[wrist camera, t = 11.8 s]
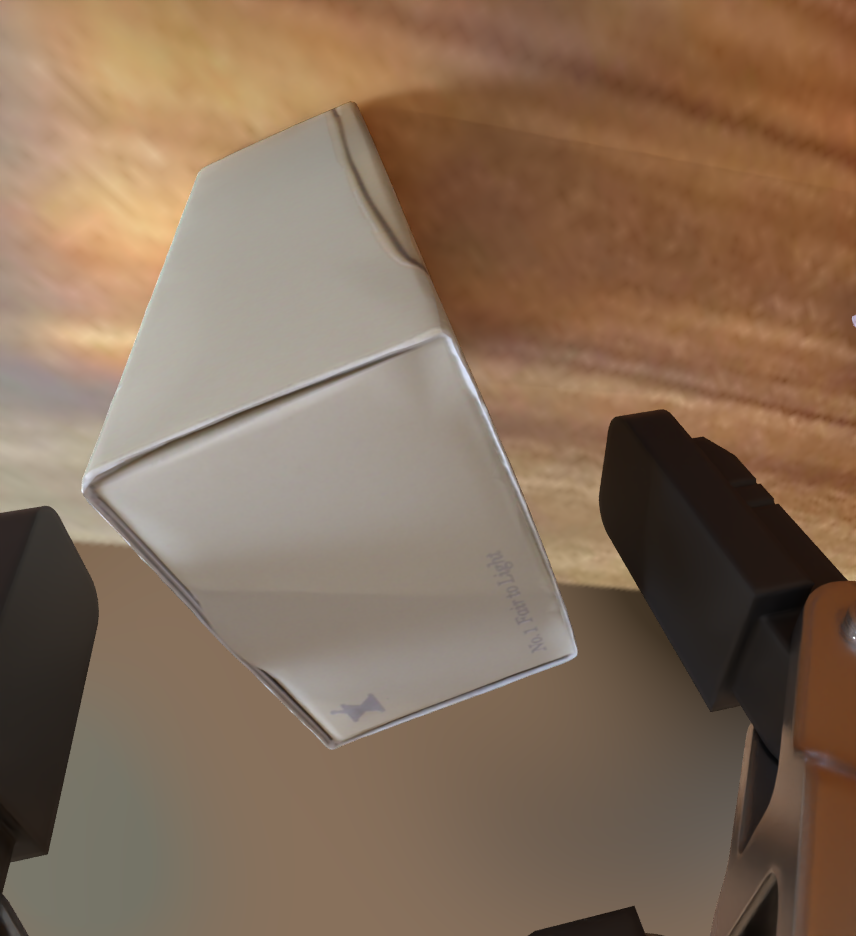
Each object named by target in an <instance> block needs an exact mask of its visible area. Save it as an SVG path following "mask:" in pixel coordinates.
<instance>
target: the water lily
mask: <svg viewBox="0 0 856 936" xmlns="http://www.w3.org/2000/svg"><path fill="white" fill-rule="evenodd" d="M852 321H853V324H854V326H855V327H856V315H854V316H853V317H852Z"/></svg>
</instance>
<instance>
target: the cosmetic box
mask: <svg viewBox="0 0 856 936" xmlns="http://www.w3.org/2000/svg"><path fill="white" fill-rule="evenodd" d="M81 492H82V494H83V496H84V497H85V498H86V500H87V501H88V503H89V504H90V505H91V506H92V507H93V508H94V509H95V510H96V511H97V512H98V513H99V514H100V515H101V516H102V517H103V518H104V519H105V520H106V521H107V522H108V523H109V524H110V525H111V526H112V527H113V528H114V529H115V530H116V531H117V532H118V533H119V534H120V536H121V537H122V538H123V539H124V540H125V541H126V542H127V543H128V545H129V546H130V547H131V548H132V549H133V550H134V551H135V552H136V553H137V554H138V555H139V556H140V558H141V559H142V560H143V561H144V562H145V563H146V564H147V565H148V566H150V567H151V568H152V569H153V570H154V571H155V572H156V574H157V575H158V576H159V577H160V579H161V580H162V581H163V582H164V583H165V584H166V585H167V586H168V587H169V588H170V589H171V590H172V591H173V592H174V593H175V594H176V595H177V596H178V598H179V599H180V600H182V601H183V602H184V603H185V605H186V606H187V607H188V608H189V609H190V610H191V611H192V612H193V613H194V614H195V615H196V617H197V618H198V619H199V620H200V621H201V622H202V623H203V624H204V625H205V627H206V628H207V629H209V631H210V632H211V633H212V634H213V635H214V636H215V637H216V638H217V639H218V640H219V641H220V642H221V643H222V644H223V645H224V646H225V647H226V648H227V649H228V650H229V651H230V652H231V653H232V654H233V655H234V656H235V657H236V658H237V659H238V660H239V661H240V662H241V663H242V664H243V665H245V666H246V667H247V668H248V669H249V670H250V671H251V672H252V673H253V674H254V675H255V676H256V677H257V678H258V679H259V680H260V681H261V682H262V683H263V684H264V685H265V686H266V687H267V688H268V689H269V690H270V691H271V692H272V693H273V694H274V695H275V696H276V697H277V698H278V699H279V700H280V701H281V702H282V703H283V704H284V705H285V706H286V707H287V708H288V709H289V710H290V711H291V712H292V713H293V714H294V715H295V716H297V718H298V719H299V720H300V721H301V722H302V723H303V724H304V725H305V726H306V727H308V728H309V729H310V730H311V731H312V732H313V733H314V734H315V736H316V737H317V738H318V739H319V740H320V741H321V742H322V743H323V744H324V745H325V746H326V747H327V748H329V749H336V748H338V747H340V746H342V745H345V744H348V743H350V742H353V741H355V740H357V739H359V738H362V737H365V736H369V735H372V734H374V733H377V732H380V731H382V730H385V729H388V728H391V727H393V726H396V725H398V724H401V723H404V722H408V721H410V720H412V719H414V718H417V717H420V716H423V715H426V714H429V713H431V712H434V711H436V710H440V709H442V708H445V707H447V706H450V705H453V704H455V703H459V702H461V701H463V700H466V699H469V698H472V697H474V696H477V695H480V694H483V693H486V692H489V691H492V690H494V689H496V688H499V687H502V686H504V685H507V684H509V683H511V682H513V681H517V680H519V679H522V678H525V677H527V676H530V675H533V674H536V673H538V672H541V671H544V670H546V669H549V668H551V667H554V666H557V665H560V664H563V663H566V662H568V661H570V660H572V659H574V658H575V657H576V656H577V654H578V648H577V643H576V640H575V636H574V632H573V629H572V626H571V623H570V619H569V616H568V613H567V610H566V606H565V604H564V601H563V598H562V595H561V593H560V590H559V587H558V584H557V581H556V578H555V576H554V573H553V571H552V567H551V564H550V562H549V559H548V557H547V554H546V551H545V549H544V546H543V544H542V541H541V538H540V536H539V533H538V531H537V528H536V526H535V523H534V521H533V518H532V515H531V513H530V510H529V508H528V505H527V503H526V500H525V498H524V495H523V493H522V490H521V488H520V485H519V483H518V481H517V478H516V476H515V473H514V471H513V468H512V466H511V464H510V461H509V459H508V457H507V454H506V452H505V450H504V447H503V445H502V443H501V440H500V438H499V436H498V433H497V431H496V428H495V426H494V424H493V421H492V419H491V417H490V414H489V412H488V409H487V407H486V405H485V402H484V400H483V398H482V395H481V393H480V391H479V389H478V386H477V384H476V382H475V379H474V377H473V375H472V372H471V370H470V368H469V366H468V363H467V361H466V359H465V356H464V354H463V352H462V350H461V347H460V345H459V343H458V340H457V338H456V336H455V333H454V331H453V329H452V327H451V324H450V322H449V320H448V317H447V315H446V313H445V310H444V308H443V306H442V303H441V301H440V299H439V296H438V294H437V292H436V289H435V287H434V285H433V282H432V280H431V278H430V275H429V273H428V270H427V268H426V266H425V263H424V261H423V258H422V256H421V254H420V251H419V249H418V246H417V244H416V242H415V239H414V237H413V234H412V232H411V230H410V227H409V225H408V222H407V220H406V218H405V215H404V213H403V211H402V208H401V206H400V203H399V201H398V199H397V196H396V194H395V191H394V189H393V187H392V184H391V182H390V180H389V177H388V175H387V172H386V170H385V168H384V165H383V163H382V161H381V158H380V156H379V153H378V151H377V149H376V146H375V144H374V142H373V139H372V137H371V135H370V132H369V130H368V128H367V126H366V123H365V121H364V119H363V117H362V115H361V113H360V110H359V108H358V106H357V105H356V103H355V102H348V103H346V104H343V105H341V106H339V107H337V108H334V109H332V110H329V111H327V112H325V113H323V114H320V115H318V116H315V117H313V118H311V119H308V120H306V121H304V122H301V123H299V124H296V125H294V126H292V127H290V128H288V129H285V130H283V131H281V132H279V133H277V134H274V135H272V136H270V137H268V138H266V139H264V140H261V141H259V142H257V143H255V144H253V145H250V146H248V147H246V148H244V149H242V150H239V151H237V152H235V153H233V154H231V155H229V156H227V157H225V158H223V159H221V160H218V161H216V162H214V163H212V164H210V165H208V166H206V167H204V168H202V169H201V170H200V171H199V172H198V175H197V177H196V180H195V183H194V185H193V188H192V191H191V193H190V196H189V199H188V201H187V204H186V207H185V209H184V212H183V214H182V217H181V220H180V223H179V225H178V227H177V230H176V233H175V236H174V239H173V242H172V244H171V247H170V249H169V252H168V254H167V257H166V260H165V263H164V266H163V268H162V270H161V273H160V276H159V278H158V281H157V284H156V286H155V289H154V292H153V294H152V297H151V300H150V302H149V304H148V306H147V309H146V313H145V316H144V318H143V321H142V324H141V327H140V329H139V332H138V335H137V337H136V340H135V343H134V345H133V348H132V351H131V353H130V356H129V359H128V361H127V364H126V367H125V369H124V372H123V375H122V377H121V380H120V383H119V386H118V388H117V391H116V393H115V395H114V398H113V400H112V402H111V406H110V409H109V411H108V414H107V417H106V419H105V422H104V425H103V427H102V430H101V433H100V435H99V438H98V441H97V443H96V446H95V448H94V451H93V453H92V456H91V458H90V461H89V463H88V466H87V468H86V471H85V474H84V476H83V479H82V491H81Z"/></svg>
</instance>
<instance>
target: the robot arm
mask: <svg viewBox="0 0 856 936" xmlns="http://www.w3.org/2000/svg"><path fill="white" fill-rule="evenodd" d="M599 507H600V513H601V518H602V522H603V525H604V527H605V530H606V532H607V534H608V536H609V538H610V539H611V541H612V543H613V544H614V546H615V548H616V550H617V551H618V553H619V555H620V557H621V558H622V560H623V562H624V563H625V565H626V567H627V569H628V570H629V572H630V574H631V576H632V577H633V579H634V581H635V582H636V584H637V586H638V588H639V589H640V591H641V593H642V594H643V596H644V598H645V599H646V601H647V603H648V605H649V607H650V608H651V610H652V612H653V613H654V615H655V617H656V619H657V620H658V622H659V624H660V625H661V627H662V629H663V631H664V632H665V634H666V636H667V638H668V639H669V641H670V643H671V645H672V646H673V648H674V650H675V651H676V653H677V655H678V656H679V658H680V660H681V662H682V664H683V665H684V667H685V669H686V670H687V672H688V674H689V676H690V677H691V679H692V681H693V683H694V684H695V686H696V688H697V689H698V691H699V692H700V694H701V696H702V698H703V700H704V701H705V703H706V705H707V707H708V708H709V710H710V712H713V711H719V710H723V709H727V708H732V707H737V706H741V707H742V708H743V710H744V711H745V713H746V715H747V716H748V718H749V720H750V721H751V724H750V726H749V728H748V731H747V736H746V741H745V748H744V755H743V762H742V770H741V777H740V783H739V791H738V798H737V805H736V813H735V819H734V826H733V833H732V840H731V847H730V855H729V860H728V865H727V870H726V875H725V878H724V882H723V885H722V889H721V892H720V895H719V898H718V902H717V906H716V910H715V914H714V918H713V923H712V928H711V933H710V936H856V581H848V580H847V579H846V578H845V577H844V576H843V575H842V574H841V573H840V572H839V570H838V569H837V568H836V567H835V566H834V565H833V564H832V563H831V562H830V560H829V559H828V558H827V557H826V556H825V555H824V554H823V553H822V552H821V550H820V549H819V548H818V547H817V546H816V545H815V544H814V543H813V542H812V540H811V539H810V538H809V537H808V536H807V535H806V534H805V533H804V532H803V530H802V529H801V528H800V527H799V526H798V525H797V524H796V523H795V522H794V520H793V519H792V518H791V517H790V516H789V515H788V514H787V513H786V512H785V511H784V509H783V508H782V507H781V506H780V505H779V504H775V503H774V498H773V497H772V496H771V495H770V494H769V493H768V492H767V491H766V489H765V488H764V487H763V486H762V485H761V484H757V483H756V478H755V477H754V476H753V475H752V474H751V473H750V472H749V471H748V469H747V468H746V467H745V466H744V465H743V464H742V463H741V462H740V461H739V459H738V458H737V457H736V456H735V455H733V454H732V453H730V452H728V451H727V450H725V449H723V448H722V447H720V446H718V445H716V444H715V443H713V442H711V441H710V440H708V439H706V438H705V437H698V438H691V437H690V435H689V434H688V433H687V432H686V431H685V430H684V428H683V427H682V426H681V425H680V424H679V423H678V421H677V420H676V419H675V418H674V417H673V415H672V414H671V413H670V412H668V411H667V410H655V411H649V412H643V413H636V414H630V415H624V416H618V417H615V418H613V419H612V421H611V423H610V426H609V430H608V436H607V443H606V450H605V457H604V464H603V471H602V478H601V485H600V492H599ZM98 617H99V610H98V598H97V593H96V589H95V586H94V583H93V581H92V578H91V577H90V575H89V573H88V571H87V569H86V567H85V565H84V563H83V561H82V559H81V557H80V555H79V554H78V552H77V550H76V548H75V546H74V544H73V542H72V540H71V538H70V536H69V534H68V532H67V531H66V529H65V527H64V525H63V523H62V521H61V519H60V517H59V516H58V514H57V513H56V511H55V510H54V509H53V508H51V507H49V506H42V507H35V508H29V509H23V510H17V511H10V512H4V513H0V936H28V934H27V932H26V930H25V929H24V927H23V925H22V924H21V922H20V920H19V918H18V917H17V915H16V913H15V912H14V910H13V908H12V907H11V905H10V903H9V902H8V900H7V899H6V898H5V897H4V895H3V894H2V892H3V888H4V884H5V880H6V876H7V872H8V868H9V865H10V862H15V861H19V860H23V859H28V858H33V857H38V856H42V855H47V854H48V851H49V846H50V841H51V837H52V833H53V828H54V823H55V819H56V814H57V809H58V804H59V800H60V796H61V791H62V786H63V782H64V777H65V773H66V768H67V763H68V759H69V754H70V750H71V745H72V740H73V736H74V731H75V727H76V722H77V717H78V712H79V708H80V703H81V699H82V694H83V690H84V685H85V681H86V676H87V671H88V667H89V662H90V657H91V653H92V648H93V644H94V639H95V634H96V630H97V625H98ZM528 936H662V935H658V934H650V933H645V932H644V930H643V927H642V925H641V922H640V919H639V917H638V914H637V912H636V909H635V906H632V907H628V908H624V909H620V910H616V911H612V912H609V913H604V914H600V915H596V916H593V917H589V918H585V919H581V920H577V921H573V922H569V923H565V924H561V925H557V926H553V927H549V928H545V929H542V930H537V931H534V932H533V933H531V934H530V935H528Z"/></svg>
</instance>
